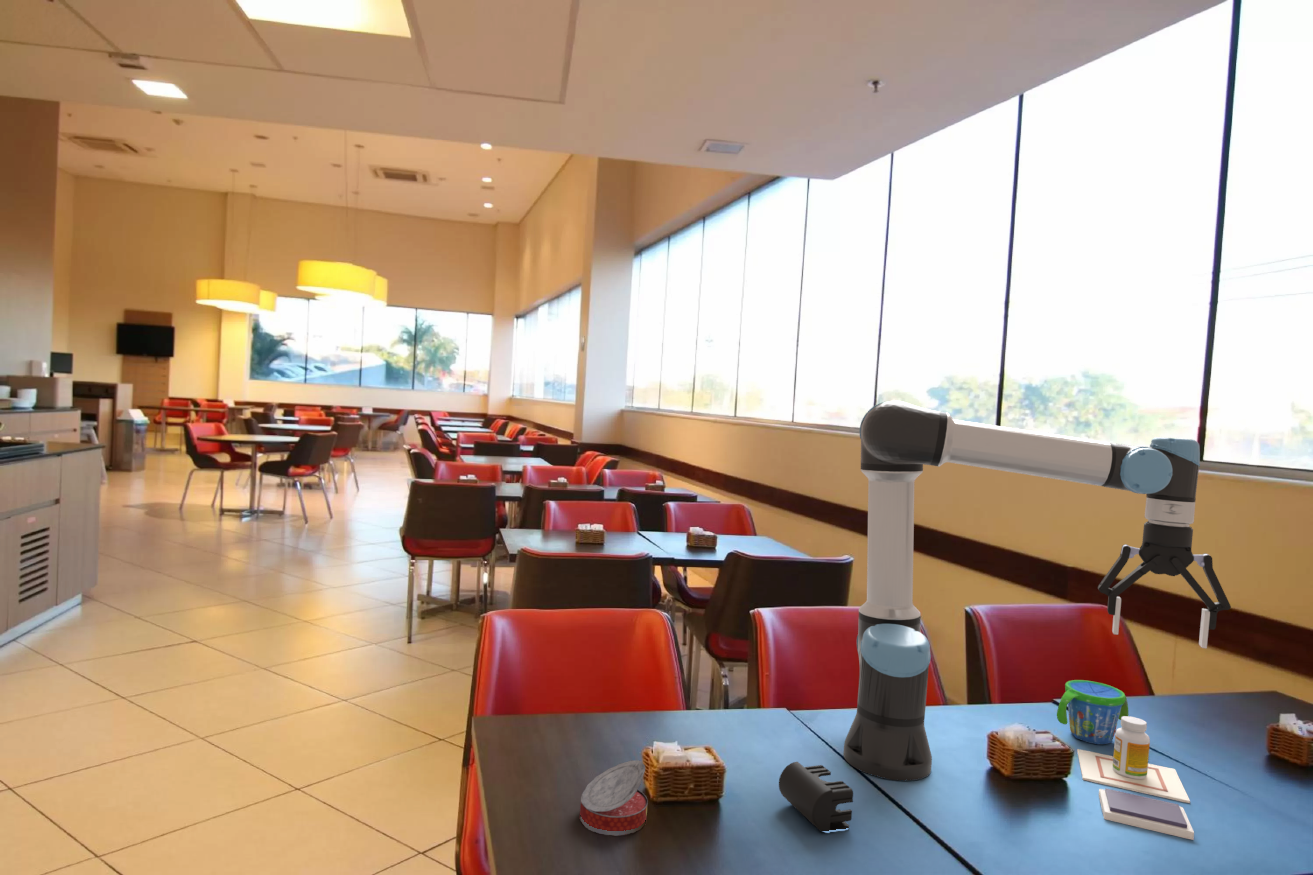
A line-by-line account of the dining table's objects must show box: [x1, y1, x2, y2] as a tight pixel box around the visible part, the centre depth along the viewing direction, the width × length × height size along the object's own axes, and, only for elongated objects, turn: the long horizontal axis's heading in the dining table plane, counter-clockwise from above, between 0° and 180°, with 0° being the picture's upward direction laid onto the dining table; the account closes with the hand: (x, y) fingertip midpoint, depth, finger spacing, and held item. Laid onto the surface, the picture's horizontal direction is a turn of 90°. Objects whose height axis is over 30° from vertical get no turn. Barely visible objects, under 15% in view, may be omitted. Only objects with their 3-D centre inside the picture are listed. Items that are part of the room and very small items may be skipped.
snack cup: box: [1056, 679, 1130, 745], centre depth 161 cm, size 16×10×10 cm
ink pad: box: [1098, 787, 1195, 841], centre depth 129 cm, size 12×9×2 cm
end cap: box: [778, 761, 854, 832], centre depth 122 cm, size 10×7×7 cm
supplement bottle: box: [1113, 715, 1151, 779], centre depth 144 cm, size 5×5×10 cm
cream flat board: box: [1076, 748, 1191, 804], centre depth 145 cm, size 16×14×1 cm
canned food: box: [579, 760, 649, 831], centre depth 117 cm, size 11×10×10 cm
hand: (1158, 639), depth 146 cm, fingers open, 13 cm apart
